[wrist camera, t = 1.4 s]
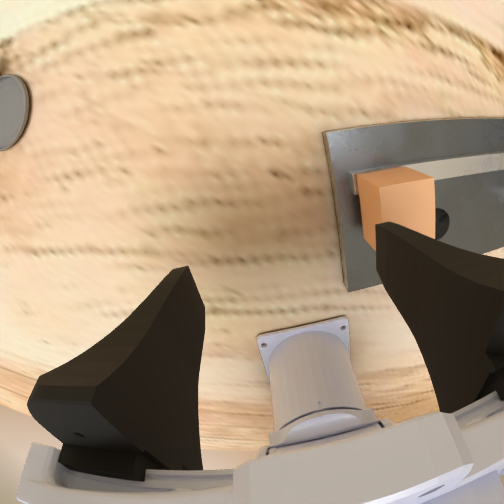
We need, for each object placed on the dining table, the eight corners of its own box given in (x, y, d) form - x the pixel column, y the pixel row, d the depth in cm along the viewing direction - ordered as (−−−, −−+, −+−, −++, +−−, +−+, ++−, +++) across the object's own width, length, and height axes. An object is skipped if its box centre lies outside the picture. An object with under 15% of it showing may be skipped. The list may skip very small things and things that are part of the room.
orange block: (405, 242, 21) (433, 268, 17) (362, 252, 21) (384, 282, 17) (401, 164, 18) (434, 177, 14) (353, 172, 18) (379, 187, 15)
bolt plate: (534, 228, 22) (568, 251, 17) (344, 284, 24) (367, 329, 18) (536, 118, 17) (577, 128, 12) (322, 131, 19) (350, 137, 14)
